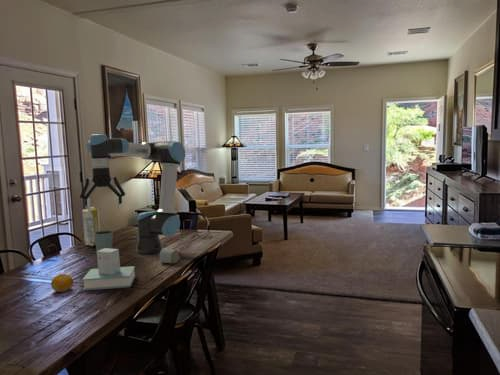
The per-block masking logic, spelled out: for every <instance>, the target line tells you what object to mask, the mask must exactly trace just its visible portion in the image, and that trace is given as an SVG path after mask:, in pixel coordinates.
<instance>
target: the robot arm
mask: <svg viewBox="0 0 500 375" xmlns="http://www.w3.org/2000/svg"><path fill="white" fill-rule="evenodd" d="M86 149H87V151H88V153H90V156H91V167H92V177H91V178H90V177H87V178H85V184H84V187H83V189H82V191H81V193H80V196H79V198H80V199H83V200H84V205H85V206H86V207H87V208H86V209H88V213H90V212H91V207H92V206H91V199H90V198H89V197H90V196H91V195H92V194H93V192H94V190H95V189H96V188H97V187H98V188H102V187H103V188H106V187H108V188H109V189H110V190H111V191H112V192H113V193H114V194H115V195H116V196H117V197H116V204H117V205H116V206H117V207H116V208H117V212H120V211H121V205H122V203H123V197H124V196H126V192H125V191H124V189H123V187H122V186H121V184H120V182H119V181H118V176H113V177H111V174H110V171H111V170H110V160H109V155H110V156H112V155H113V156H124V157H133V158H134V157H135V158H141V159H143V160H150V161H154V162H155V161H156V162H159V165H160V166H161V167H162V169H161V177H160V178H161V180H160V181H161V182H160V191H159V192H160V194H159V207H158V209H157V210H152V211H144V212H140V213H138V214H137V221H136V222H137V234H138V236H137V237H138V239H137V243H136V247H135V251H136V253H138V254H153V253H154V254H155V253H158V252H161V250H162V249H163V244H162V241H161V239H160V236H159V235H161V236H164V237H165V236H167V237H171V236H174V235H176V233H177V232H178V231H179V229H180V227H181V219H180V217H179V216H178V215H177V214H178V212H177V211H176V209H175V204H176V202H175V201H176V190H177V188H176V187H177V179H178V177H177V176H178V169H179V167H180V166H181V164H182V162H183V161H184V160H185V159H186V149H185V147H184V146H183V144H182V143H181V142H180V141H176V140H175V141H173V140H169V141H167V140H166V141H153V142H145V141H144V142H142V143H137V142H130V141H129V142H128V140H127V139H126V138H124V137H123V138H122V137H117V138H116V137H115V138H108V135H107V134H105V133H104V134H102V133H101V134H99V133H97V134H90V136H89V140H88V141H87V144H86ZM111 181H112V182H114V184H115V186H116V187H117V188H115V187H114V186H113V185H112V184H111ZM92 182H93V185H92V187H91V188H90V189H89V187H90V184H91V183H92ZM88 189H89V191H88V192H87V190H88ZM117 189H118V190H117ZM86 192H87V193H86Z"/></svg>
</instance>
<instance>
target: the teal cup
mask: <svg viewBox="0 0 500 375" xmlns="http://www.w3.org/2000/svg"><path fill="white" fill-rule="evenodd" d="M94 235H95V240H96V245H95V247H96V248H95V249H96V250H95V251H96V252H97V251H99V250H101V249H104V248H109V249H113V235H114V233H113V230H100V231H98V232H95V233H94Z"/></svg>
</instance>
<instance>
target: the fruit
mask: <svg viewBox="0 0 500 375" xmlns="http://www.w3.org/2000/svg"><path fill="white" fill-rule="evenodd" d="M50 286H51V288H52V289H53V290H54V291H55V292H58V293H62V292H63V293H64V292H66V291H69V290H70V289H71V288H72V287H73V286H74V279H73V277H72V276H71V275H69V274H67V273H66V274H65V273H59V274H57V275H56V276H55V277H53V278H52V280H51V283H50Z"/></svg>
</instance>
